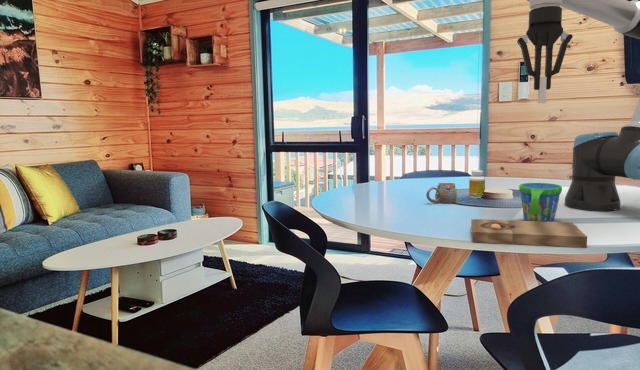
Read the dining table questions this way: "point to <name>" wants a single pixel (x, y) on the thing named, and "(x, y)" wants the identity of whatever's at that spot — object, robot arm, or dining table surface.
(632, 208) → the dining table surface
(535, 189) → the snack cup
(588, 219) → the dining table surface
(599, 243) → the dining table surface
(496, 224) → the ball
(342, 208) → the dining table surface
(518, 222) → the wooden board
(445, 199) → the mug
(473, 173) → the supplement bottle
